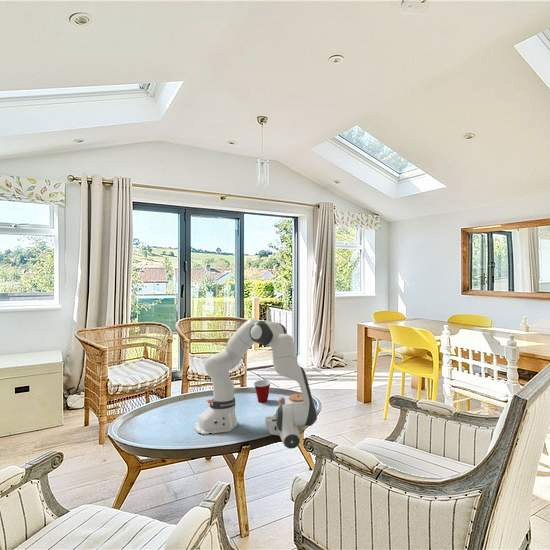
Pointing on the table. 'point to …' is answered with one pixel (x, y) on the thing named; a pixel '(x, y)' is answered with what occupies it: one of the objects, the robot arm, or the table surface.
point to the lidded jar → (296, 399)
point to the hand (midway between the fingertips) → (284, 415)
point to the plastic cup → (262, 390)
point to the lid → (281, 401)
